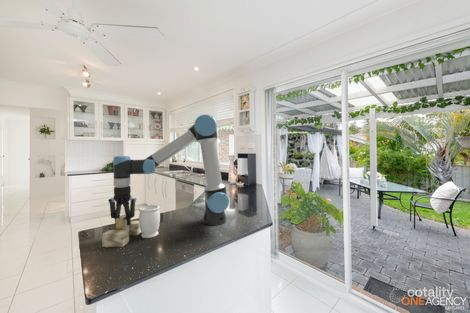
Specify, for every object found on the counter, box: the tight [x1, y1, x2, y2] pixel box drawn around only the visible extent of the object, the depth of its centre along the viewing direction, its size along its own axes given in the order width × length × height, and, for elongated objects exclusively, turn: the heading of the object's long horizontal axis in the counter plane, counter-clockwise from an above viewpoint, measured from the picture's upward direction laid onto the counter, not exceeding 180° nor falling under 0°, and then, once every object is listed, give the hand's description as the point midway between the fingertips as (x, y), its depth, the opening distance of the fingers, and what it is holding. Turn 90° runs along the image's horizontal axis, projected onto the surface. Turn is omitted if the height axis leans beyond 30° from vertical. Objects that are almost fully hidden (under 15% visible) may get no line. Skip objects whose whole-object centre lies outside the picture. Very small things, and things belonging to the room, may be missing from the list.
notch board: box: [101, 220, 142, 248], centre depth 104 cm, size 10×18×6 cm, turn 179°
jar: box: [138, 204, 161, 239], centre depth 108 cm, size 11×10×15 cm
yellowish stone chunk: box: [115, 214, 130, 230], centre depth 104 cm, size 4×6×8 cm, turn 179°
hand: (123, 231), depth 104 cm, fingers closed on yellowish stone chunk, 3 cm apart
